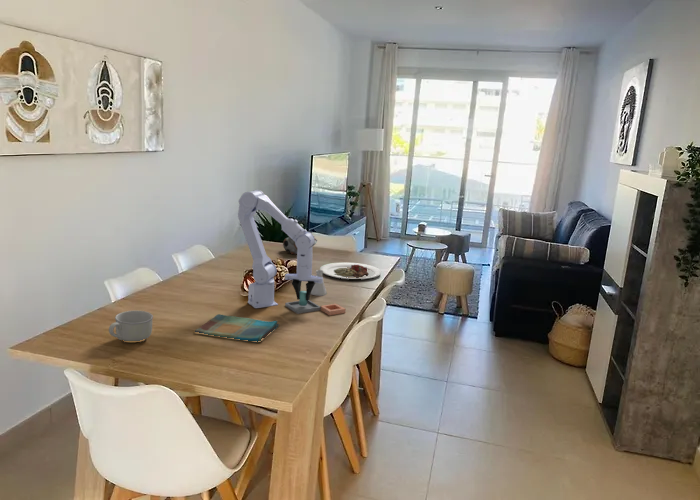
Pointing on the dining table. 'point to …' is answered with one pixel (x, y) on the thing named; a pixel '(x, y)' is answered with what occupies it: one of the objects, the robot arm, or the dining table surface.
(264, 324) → the dish towel
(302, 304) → the pin
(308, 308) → the tray
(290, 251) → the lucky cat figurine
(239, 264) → the dining table surface
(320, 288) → the flask
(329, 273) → the plated food
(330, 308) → the salmon square dish
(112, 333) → the teacup
